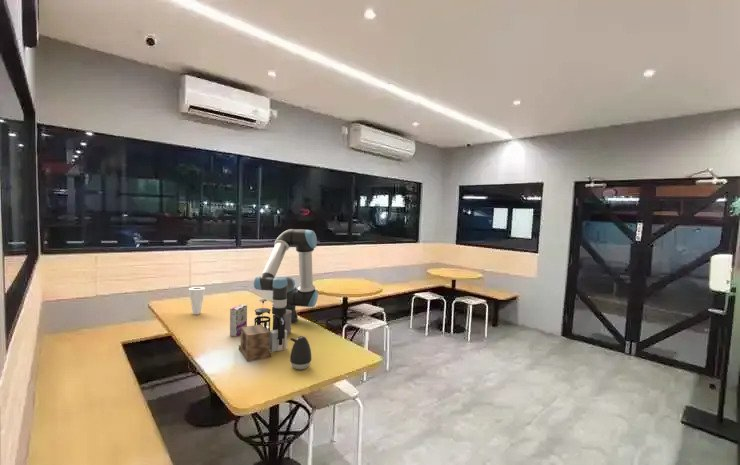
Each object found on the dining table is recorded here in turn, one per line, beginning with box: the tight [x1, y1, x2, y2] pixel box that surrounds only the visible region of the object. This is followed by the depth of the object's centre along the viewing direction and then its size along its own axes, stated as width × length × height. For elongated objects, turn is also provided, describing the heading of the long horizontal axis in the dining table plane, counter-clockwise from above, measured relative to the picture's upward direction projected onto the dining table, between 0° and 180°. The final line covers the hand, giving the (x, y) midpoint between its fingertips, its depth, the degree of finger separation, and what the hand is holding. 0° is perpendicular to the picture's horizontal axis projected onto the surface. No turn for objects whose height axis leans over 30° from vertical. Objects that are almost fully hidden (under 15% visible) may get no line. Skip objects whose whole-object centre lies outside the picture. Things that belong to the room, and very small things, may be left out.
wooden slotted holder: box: [238, 324, 272, 362], centre depth 185 cm, size 13×18×12 cm
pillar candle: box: [283, 309, 292, 336], centre depth 217 cm, size 10×10×15 cm
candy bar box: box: [229, 304, 248, 337], centre depth 213 cm, size 11×5×16 cm, turn 168°
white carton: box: [270, 329, 288, 353], centre depth 192 cm, size 8×5×10 cm, turn 123°
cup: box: [188, 286, 206, 315], centre depth 249 cm, size 11×11×18 cm
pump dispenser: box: [289, 335, 312, 371], centre depth 170 cm, size 10×10×15 cm
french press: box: [253, 298, 272, 332], centre depth 207 cm, size 12×9×23 cm
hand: (277, 348), depth 192 cm, fingers closed on white carton, 5 cm apart
